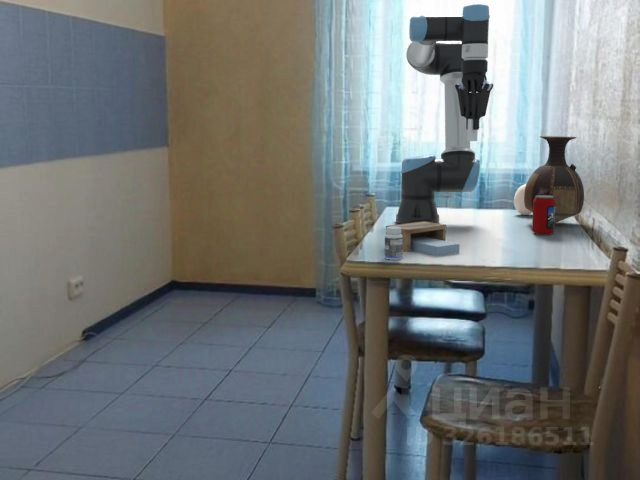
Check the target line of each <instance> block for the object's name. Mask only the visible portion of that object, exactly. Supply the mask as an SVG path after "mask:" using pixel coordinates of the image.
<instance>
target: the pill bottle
mask: <svg viewBox="0 0 640 480" xmlns="http://www.w3.org/2000/svg"><path fill="white" fill-rule="evenodd" d="M389 226H390V227H386V226H385V234H384V258H386V259H385V260H388V259H390V260H389V261H400V260H402V259H403V251H402V246H403V236H402V235H401V234H400V233H401V227H396V226H391V225H389ZM386 233H387V234H386ZM399 259H400V260H399Z"/></svg>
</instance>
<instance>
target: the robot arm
mask: <svg viewBox="0 0 640 480" xmlns="http://www.w3.org/2000/svg"><path fill="white" fill-rule="evenodd" d="M489 25H490V7H489V5H488V4H485V3H470V4H465V5H464V6H463V8H462V14H461V15H419V16H418V15H417V16H411V17H410V19H409V26H408V27H409V29H408V31H409V33H408V34H409V40H410V41H411V43H410V44H409V45H408V47H407V49H406V55H405V56H406V61H407V62H408V64H409V65H410V67H412V68H413V69H414V70H415V71H417V72H419V73H422V74H425V75H431V76H439V80H440V82H441V83H443V85H444V138H445V139H444V140H445V141H444V142H445V143H444V145H445V146H444V147H445V148H444V149H445V150H443V151H442V152H441V154H440V158H437V156H436V155H435V154H423V155H415V156H411V157H410V156H409V157H406V158H404V159H403V160H402V161H401V169H400V170H401V171H400V174H401V181H400V182H401V183H400V184H401V185H400V188H401V189H400V203H399V206H398V209H397V213H396V215H395V222H396V223H397V224H406V223H414V222H421V221H425V222H432V223H438V224H440V215H439V214H438V209H437V204H436V201H435V200H436V199H435V193H461V194H463V193H472V192H474V191H475V190H476V188H477V185H478V181H479V176H480V169H481V160H480V159H479V158H478V157H476V152H475V151H474V150H473V149H471V142H477V141H478V131H479V129H480V119H481V118H482V117H486V114H487V108H488V104H489V101H490V95H491V92H492V89H493V88H494V83H490V82H489V81H488V79H487V78H488V77H487V73H488V60H487V58H489Z"/></svg>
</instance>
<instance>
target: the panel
mask: <svg viewBox="0 0 640 480" xmlns="http://www.w3.org/2000/svg"><path fill="white" fill-rule="evenodd" d="M413 250H414V252H418V251H419V252H418V253H422V252H423V253H422V254H426V253H427V254H426V255H430V254H431V255H430V256H434V255H435V257H439V256H440V255H441V256H447V255H448V254H449V255H456V254H460V243H456V242H453V241H447V240H445V241H443V240H438V239H434V238H429V237H416V238H410V251H413ZM455 253H456V254H455ZM449 255H448V256H449Z"/></svg>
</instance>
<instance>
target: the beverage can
mask: <svg viewBox="0 0 640 480" xmlns="http://www.w3.org/2000/svg"><path fill="white" fill-rule="evenodd" d="M555 203H556V202H555V199H554V197H553V196H551V195H537V196H536V197H535V199H534V201H533V213H532V223H531V224H532V227H531V231H532V233H534V234H536V235H538V234H539V236H540V235H541V236H550V235H552V234H553V233H555V224H556V223H555Z"/></svg>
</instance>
